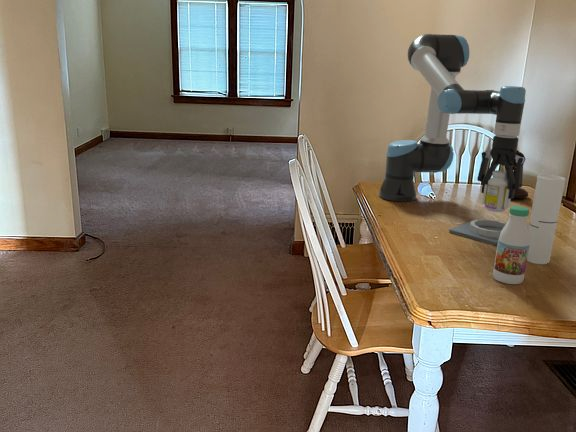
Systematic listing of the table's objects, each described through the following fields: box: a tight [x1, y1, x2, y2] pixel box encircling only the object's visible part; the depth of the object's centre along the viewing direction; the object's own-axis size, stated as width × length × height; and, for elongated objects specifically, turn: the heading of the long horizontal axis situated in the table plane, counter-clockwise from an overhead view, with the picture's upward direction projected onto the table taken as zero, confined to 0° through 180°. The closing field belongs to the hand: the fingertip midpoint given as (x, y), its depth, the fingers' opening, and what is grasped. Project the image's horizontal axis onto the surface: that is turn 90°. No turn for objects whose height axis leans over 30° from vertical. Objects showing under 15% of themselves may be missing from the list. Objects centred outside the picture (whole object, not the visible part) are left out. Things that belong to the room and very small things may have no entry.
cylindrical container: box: [527, 174, 566, 265], centre depth 152 cm, size 7×7×25 cm
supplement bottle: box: [484, 170, 509, 213], centre depth 173 cm, size 7×7×13 cm
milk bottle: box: [492, 205, 530, 285], centre depth 138 cm, size 8×8×20 cm
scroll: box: [503, 149, 529, 201], centre depth 224 cm, size 15×15×20 cm
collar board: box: [448, 218, 507, 247], centre depth 177 cm, size 20×20×3 cm
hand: (495, 205), depth 174 cm, fingers closed on supplement bottle, 7 cm apart
